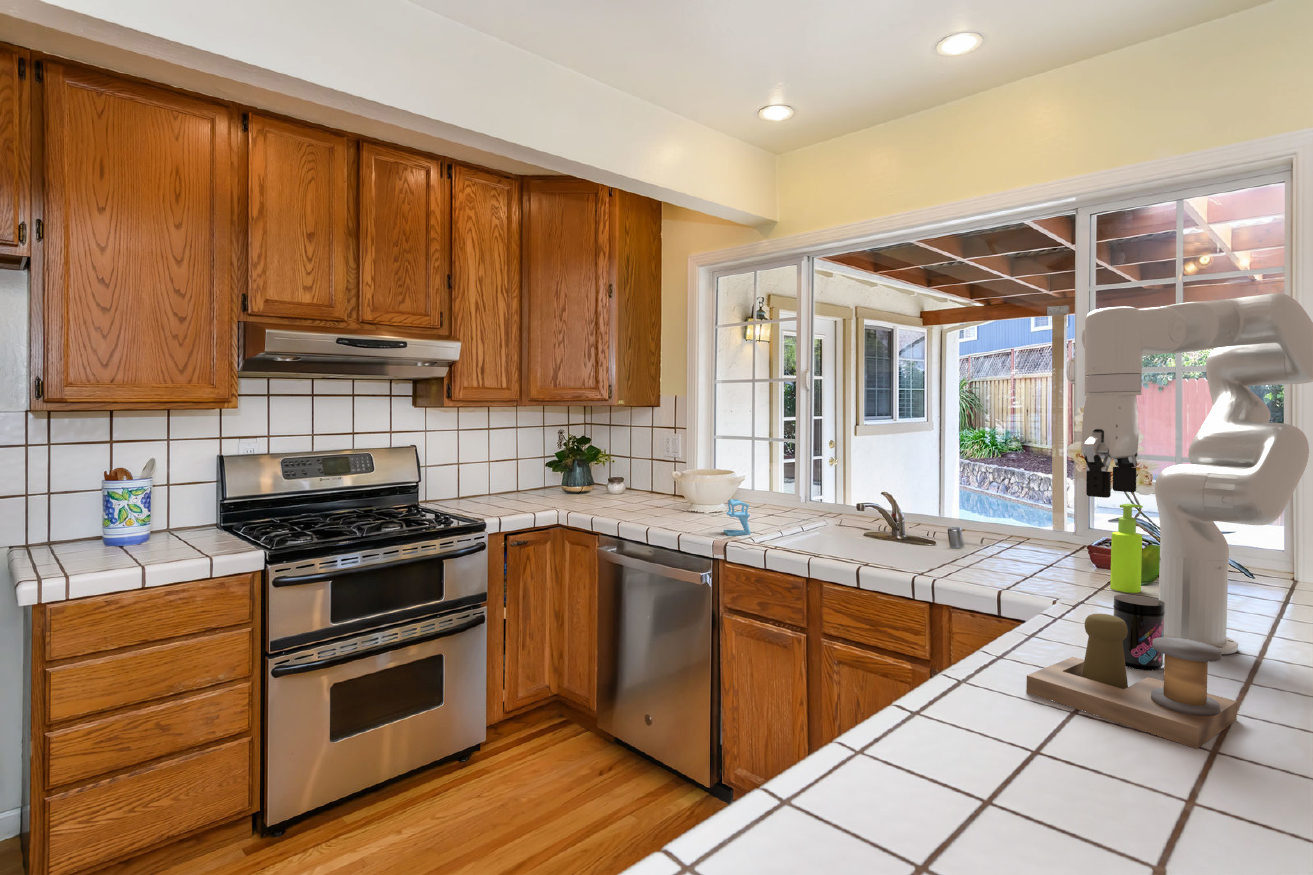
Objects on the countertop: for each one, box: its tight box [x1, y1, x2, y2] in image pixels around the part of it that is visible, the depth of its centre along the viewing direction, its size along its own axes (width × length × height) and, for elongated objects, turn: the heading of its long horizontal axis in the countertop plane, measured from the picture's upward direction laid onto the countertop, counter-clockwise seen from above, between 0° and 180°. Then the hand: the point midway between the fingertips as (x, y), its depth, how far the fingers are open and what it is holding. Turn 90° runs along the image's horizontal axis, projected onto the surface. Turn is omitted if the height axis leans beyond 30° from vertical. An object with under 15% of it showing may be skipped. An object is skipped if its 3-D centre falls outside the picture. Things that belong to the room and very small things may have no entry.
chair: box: [723, 498, 751, 537], centre depth 232 cm, size 8×8×12 cm
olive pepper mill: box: [1081, 613, 1129, 689], centre depth 98 cm, size 6×6×11 cm
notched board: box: [1025, 637, 1238, 750], centre depth 93 cm, size 14×20×10 cm
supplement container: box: [1112, 594, 1165, 671], centre depth 109 cm, size 7×7×10 cm
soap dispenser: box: [1109, 503, 1143, 594], centre depth 158 cm, size 6×7×20 cm
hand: (1111, 494), depth 108 cm, fingers open, 9 cm apart
